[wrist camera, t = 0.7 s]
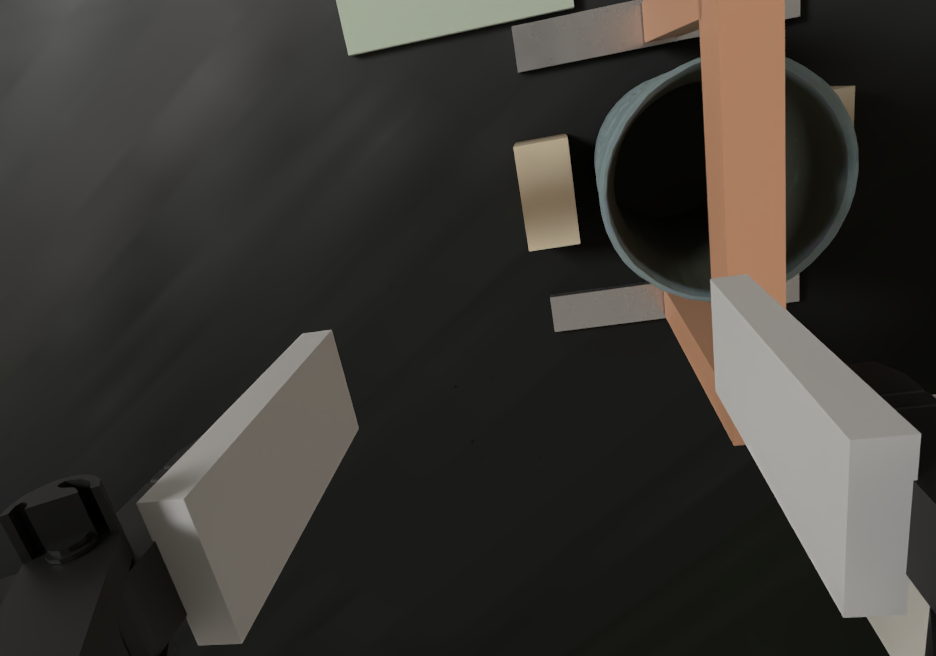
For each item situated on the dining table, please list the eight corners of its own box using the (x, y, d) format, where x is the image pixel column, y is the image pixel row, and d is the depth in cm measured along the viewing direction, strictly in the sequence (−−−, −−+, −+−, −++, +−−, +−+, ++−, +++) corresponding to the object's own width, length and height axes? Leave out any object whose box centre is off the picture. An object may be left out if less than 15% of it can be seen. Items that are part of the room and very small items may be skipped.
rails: (511, 27, 35) (511, 26, 34) (796, -34, 32) (800, -36, 32) (554, 328, 41) (554, 331, 40) (795, 298, 38) (799, 301, 38)
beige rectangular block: (515, 142, 37) (513, 147, 34) (829, 85, 34) (855, 85, 31) (530, 239, 39) (529, 251, 36) (827, 194, 36) (851, 203, 33)
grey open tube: (760, 217, 37) (863, 276, 26) (592, 254, 39) (621, 325, 28) (744, 36, 33) (856, 16, 22) (560, 86, 35) (580, 89, 24)
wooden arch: (641, 2, 33) (714, -61, 19) (680, -6, 32) (784, -77, 18) (665, 316, 39) (733, 445, 25) (698, 312, 38) (786, 440, 25)
